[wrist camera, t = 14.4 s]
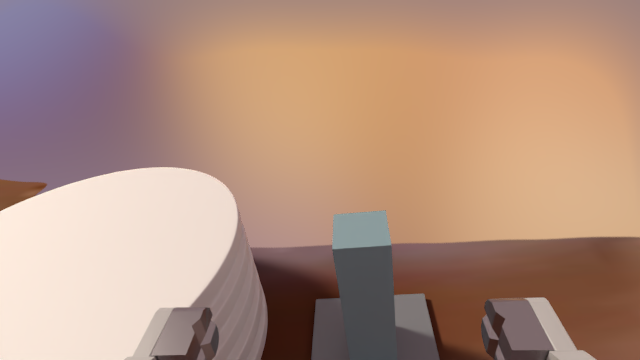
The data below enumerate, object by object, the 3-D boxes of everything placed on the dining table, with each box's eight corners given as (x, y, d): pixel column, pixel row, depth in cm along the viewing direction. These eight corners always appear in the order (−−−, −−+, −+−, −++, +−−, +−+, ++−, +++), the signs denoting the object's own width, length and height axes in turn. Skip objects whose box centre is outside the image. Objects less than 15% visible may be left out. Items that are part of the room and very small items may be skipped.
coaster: (308, 413, 27) (307, 409, 27) (316, 303, 36) (316, 299, 35) (450, 411, 26) (450, 406, 25) (423, 298, 34) (423, 293, 34)
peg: (350, 365, 29) (332, 249, 23) (350, 326, 32) (333, 214, 26) (397, 364, 29) (391, 245, 23) (392, 324, 32) (385, 210, 26)
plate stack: (-97, 387, 34) (-202, 300, 28) (171, 222, 51) (139, 148, 46) (-39, 727, 17) (-270, 685, 12) (329, 312, 35) (311, 213, 29)
